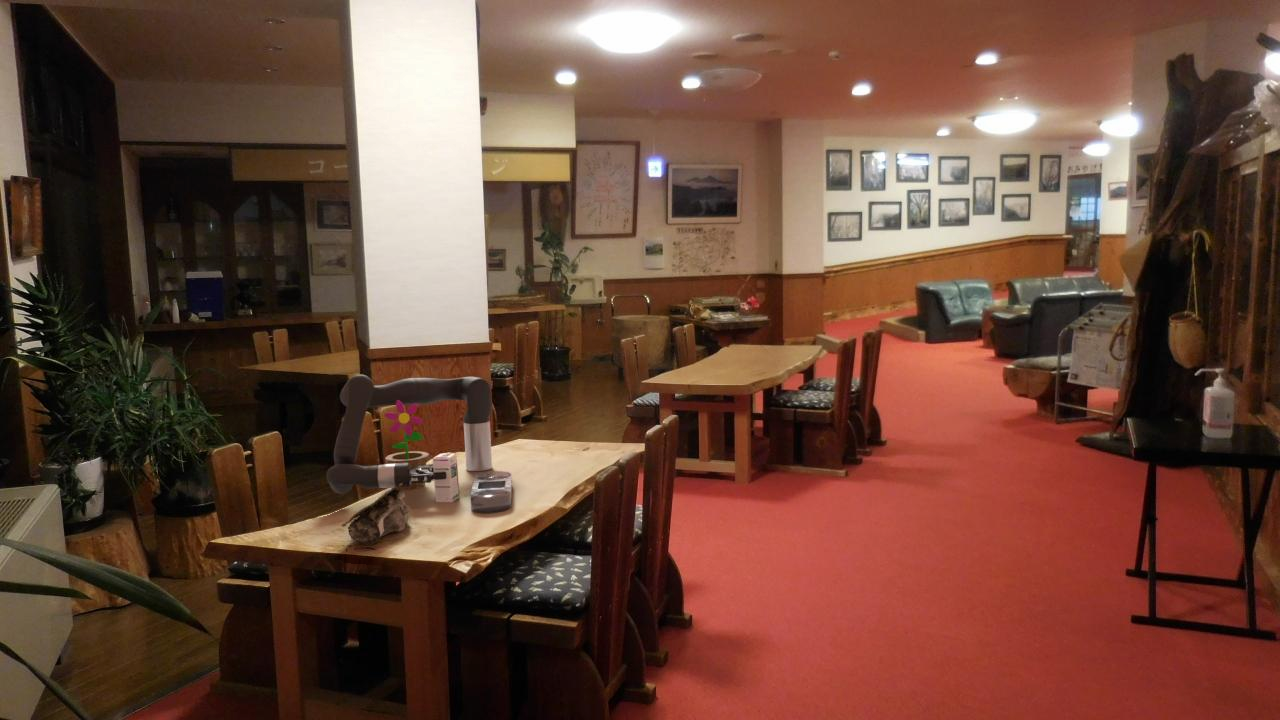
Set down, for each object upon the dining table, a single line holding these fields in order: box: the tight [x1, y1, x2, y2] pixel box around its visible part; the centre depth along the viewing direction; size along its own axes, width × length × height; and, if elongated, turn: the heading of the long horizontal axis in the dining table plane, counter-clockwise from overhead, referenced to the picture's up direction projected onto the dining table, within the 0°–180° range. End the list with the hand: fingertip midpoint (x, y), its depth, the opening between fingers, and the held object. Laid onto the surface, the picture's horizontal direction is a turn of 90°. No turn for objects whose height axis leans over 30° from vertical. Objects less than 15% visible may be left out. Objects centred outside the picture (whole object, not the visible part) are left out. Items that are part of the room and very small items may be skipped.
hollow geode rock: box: [340, 484, 412, 546], centre depth 250 cm, size 28×13×15 cm
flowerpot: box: [384, 400, 430, 491], centre depth 302 cm, size 14×14×30 cm
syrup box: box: [432, 452, 460, 504], centre depth 284 cm, size 6×6×14 cm
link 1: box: [471, 470, 513, 491], centre depth 292 cm, size 24×12×4 cm, turn 7°
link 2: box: [469, 485, 513, 514], centre depth 280 cm, size 24×12×4 cm, turn 7°
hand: (447, 472), depth 284 cm, fingers open, 8 cm apart
